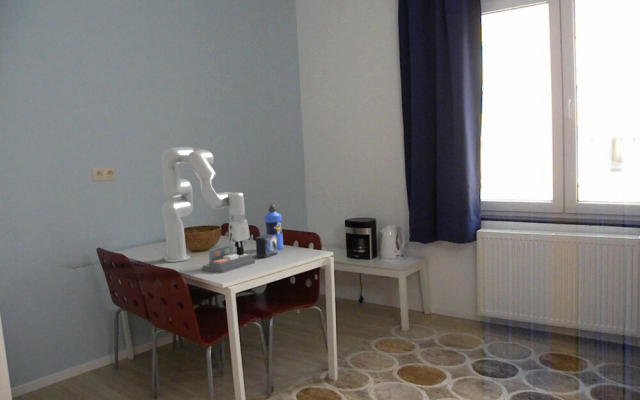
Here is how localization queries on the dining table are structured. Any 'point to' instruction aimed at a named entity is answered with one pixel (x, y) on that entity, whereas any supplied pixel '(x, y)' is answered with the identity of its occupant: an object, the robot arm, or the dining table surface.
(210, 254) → the keypad
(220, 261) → the terracotta key
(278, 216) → the water bottle
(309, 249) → the dining table surface
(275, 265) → the dining table surface
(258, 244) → the small box
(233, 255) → the grey key
